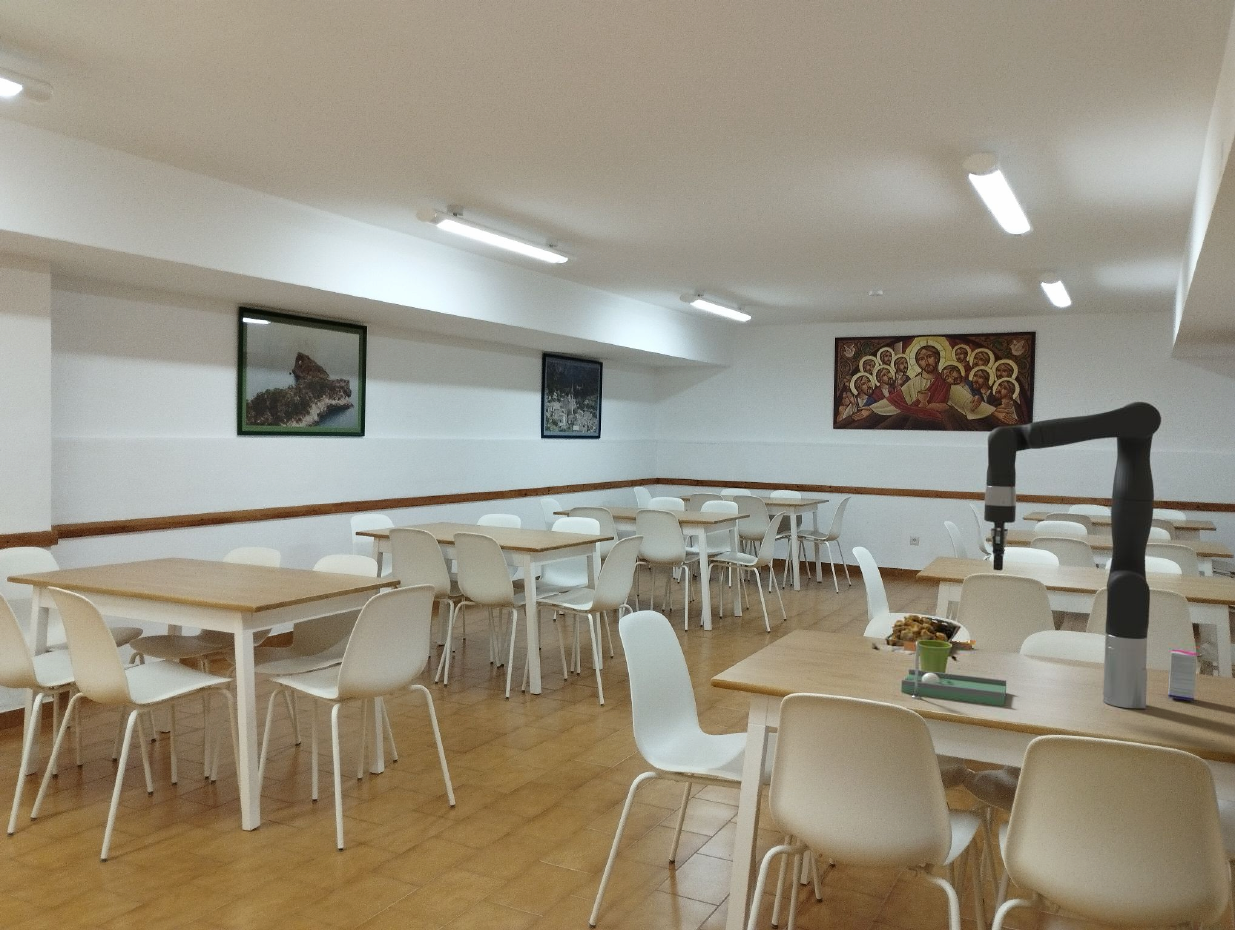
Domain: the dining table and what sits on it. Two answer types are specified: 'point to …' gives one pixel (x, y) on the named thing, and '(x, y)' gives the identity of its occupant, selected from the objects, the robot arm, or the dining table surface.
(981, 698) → the lane
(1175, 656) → the supplement box
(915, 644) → the pin
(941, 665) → the plant pot
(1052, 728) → the dining table surface
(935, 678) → the ball
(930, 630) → the food tray
